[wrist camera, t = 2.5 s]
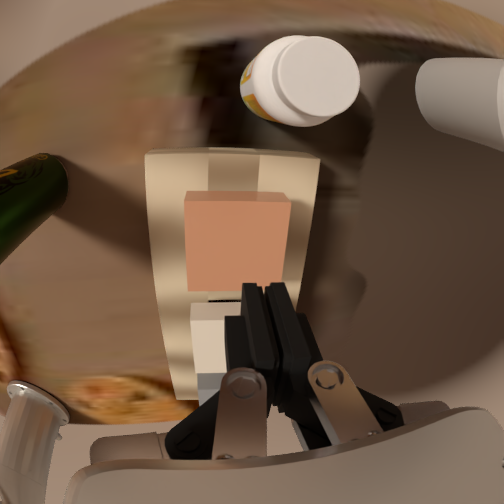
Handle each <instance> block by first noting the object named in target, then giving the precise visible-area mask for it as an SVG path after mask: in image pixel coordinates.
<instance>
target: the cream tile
mask: <svg viewBox="0 0 504 504" xmlns="http://www.w3.org/2000/svg"><path fill="white" fill-rule="evenodd" d="M240 311H241V302H218V303H191V311H190V325H191V336H192V346H193V356H194V365H195V373H227V369H226V357H225V341H224V317H225V316H233V315H240Z"/></svg>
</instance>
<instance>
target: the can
mask: <svg viewBox="0 0 504 504" xmlns="http://www.w3.org/2000/svg"><path fill="white" fill-rule="evenodd" d="M415 90H416V99H417V103H418V106H419V109H420V112H421V113H422V115H423V117H424V118H425V120H426V122H427V123H428V124H429V125H430V126H431V127H433V128H434V129H435V130H438V131H440V132H442V133H447V134H450V135H453V136H457V137H460V138H464V139H467V140H470V141H473V142H476V143H480V144H483V145H486V146H488V147H492V148H494V149H497V150H500V151H502V152H504V59H489V58H434V59H431V60H428V61H426V62H425V63H424V64H423V65H422V66H421V67H420V69H419V72H418V74H417V77H416V86H415Z"/></svg>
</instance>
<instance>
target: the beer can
mask: <svg viewBox="0 0 504 504" xmlns="http://www.w3.org/2000/svg"><path fill="white" fill-rule="evenodd" d="M68 189H69V178H68V174H67V170H66V168H65V167H64V165H63V163H62V162H61V161H60V160H59V159H58V158H56V157H54V156H52V155H50V154H48V153H39V154H36V155H34V156H31V157H29V158H26V159H24V160H22V161H19V162H17V163H15V164H13V165H11V166H8V167H6V168H4V169H2V170H0V264H1V263H2V262H3V261H4V260H5V259H6V258H7V257H8V256H9V255H10V254H11V253H12V252H13V251H14V250H15V249H16V248H17V247H18V246H19V245H20V244H21V243H22V242H23V241H24V240H25V239H26V238H27V237H28V236H29V235H30V234H31V233H32V232H33V231H34V230H36V229H37V228H38V227H39V226H40V225H41V224H42V223H43V222H44V221H45V220H47V219H48V218H49V217H50V216H51V215H52V214H53V213H55V212H56V211H57V210H58V209H59V208H60V207H61V206H62V205H63V203H64V202H65V200H66V196H67V193H68Z"/></svg>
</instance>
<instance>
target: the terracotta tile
mask: <svg viewBox="0 0 504 504" xmlns="http://www.w3.org/2000/svg"><path fill="white" fill-rule="evenodd" d="M290 211H291V201H290V200H289V199H288V198H287V196H286V195H285V194H284V193H283V192H258V191H186V195H185V199H184V223H185V250H186V270H187V286H188V291H242V283H257V286H262V289H263V290H265V286H269V285H270V283H271V282H281V278H282V271H283V264H284V257H285V249H286V242H287V234H288V227H289V219H290Z"/></svg>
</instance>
